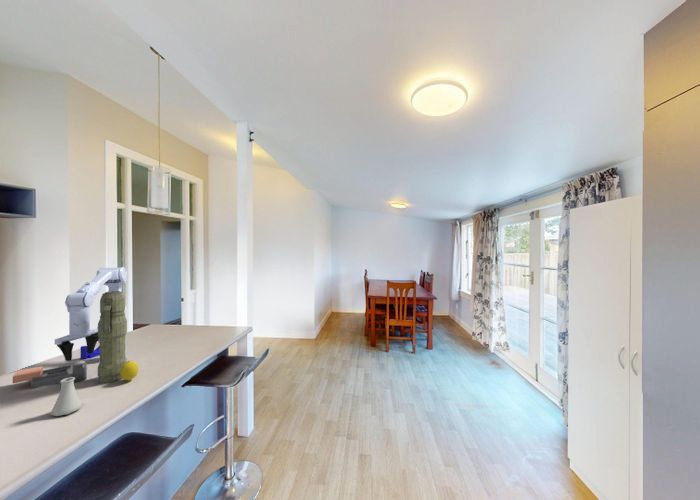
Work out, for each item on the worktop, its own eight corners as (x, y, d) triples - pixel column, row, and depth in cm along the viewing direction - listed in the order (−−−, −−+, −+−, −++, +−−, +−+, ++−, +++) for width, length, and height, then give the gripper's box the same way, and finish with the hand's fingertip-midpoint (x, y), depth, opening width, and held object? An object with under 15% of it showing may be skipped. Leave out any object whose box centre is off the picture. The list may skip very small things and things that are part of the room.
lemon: (118, 385, 103) (118, 364, 103) (122, 379, 108) (122, 359, 108) (136, 382, 106) (136, 361, 106) (139, 376, 111) (139, 356, 111)
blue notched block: (104, 349, 140) (104, 338, 140) (111, 350, 140) (111, 338, 140) (77, 359, 129) (77, 346, 129) (85, 359, 128) (85, 347, 128)
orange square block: (42, 372, 108) (42, 366, 108) (39, 378, 103) (39, 371, 103) (17, 377, 104) (17, 370, 104) (12, 383, 99) (12, 376, 99)
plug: (87, 376, 110) (87, 359, 110) (86, 380, 107) (86, 362, 107) (73, 380, 108) (73, 362, 108) (71, 383, 105) (71, 365, 105)
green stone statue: (93, 387, 102) (93, 295, 102) (102, 375, 112) (102, 290, 112) (123, 382, 106) (123, 293, 106) (129, 370, 116) (129, 289, 116)
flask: (66, 404, 91) (66, 374, 91) (89, 403, 92) (89, 373, 92) (43, 417, 84) (43, 385, 84) (68, 416, 84) (68, 384, 84)
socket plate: (79, 370, 116) (79, 362, 116) (76, 378, 109) (76, 370, 109) (37, 379, 108) (37, 370, 108) (31, 388, 101) (31, 379, 101)
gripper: (92, 317, 115) (92, 349, 115) (48, 327, 101) (48, 363, 101) (105, 318, 114) (105, 350, 114) (62, 328, 100) (62, 364, 100)
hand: (79, 356), depth 108 cm, fingers open, 7 cm apart
